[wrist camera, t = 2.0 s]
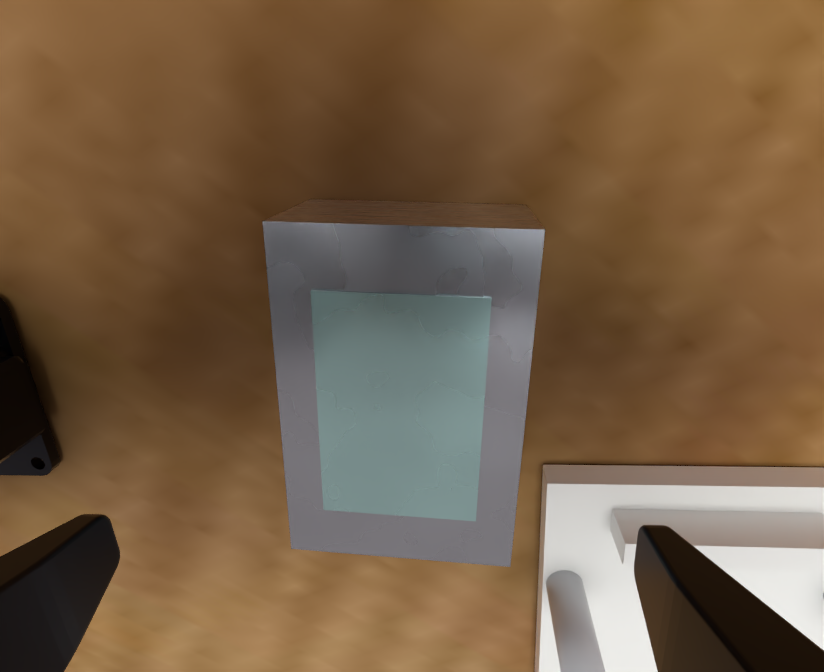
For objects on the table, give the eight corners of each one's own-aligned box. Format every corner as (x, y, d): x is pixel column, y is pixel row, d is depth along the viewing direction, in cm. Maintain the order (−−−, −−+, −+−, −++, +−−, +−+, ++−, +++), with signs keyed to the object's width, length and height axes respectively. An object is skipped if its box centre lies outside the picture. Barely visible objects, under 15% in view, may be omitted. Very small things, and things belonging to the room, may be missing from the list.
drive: (326, 464, 19) (290, 551, 15) (312, 197, 15) (261, 221, 12) (501, 476, 18) (510, 569, 14) (525, 203, 15) (545, 230, 11)
